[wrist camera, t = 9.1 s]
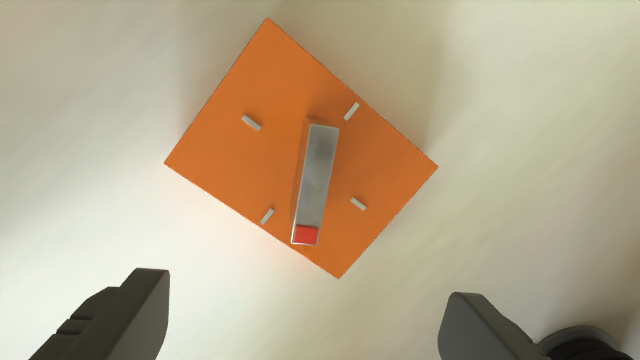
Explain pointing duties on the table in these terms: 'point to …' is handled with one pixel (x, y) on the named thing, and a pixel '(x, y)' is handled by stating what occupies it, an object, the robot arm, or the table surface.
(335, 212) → the orange flat rectangular block
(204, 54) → the table surface
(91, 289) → the table surface
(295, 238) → the gray rectangular block
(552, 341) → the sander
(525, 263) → the table surface
